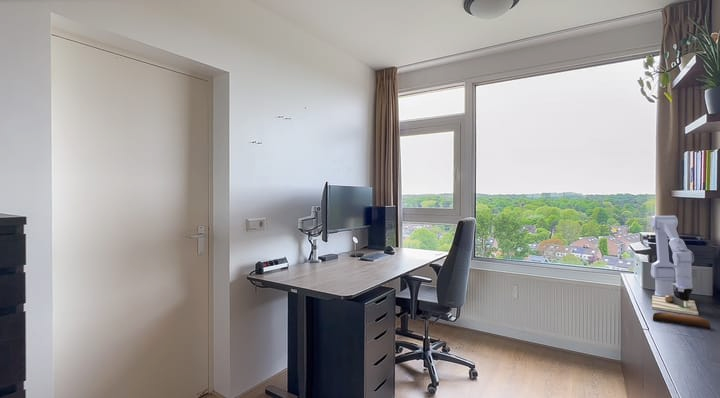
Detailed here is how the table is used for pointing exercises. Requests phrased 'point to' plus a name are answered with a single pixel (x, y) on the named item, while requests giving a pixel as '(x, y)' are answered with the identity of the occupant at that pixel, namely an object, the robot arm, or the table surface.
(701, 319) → the sunglasses case
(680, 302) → the bronze ball with handle
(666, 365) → the table surface
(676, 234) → the robot arm
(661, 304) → the board
